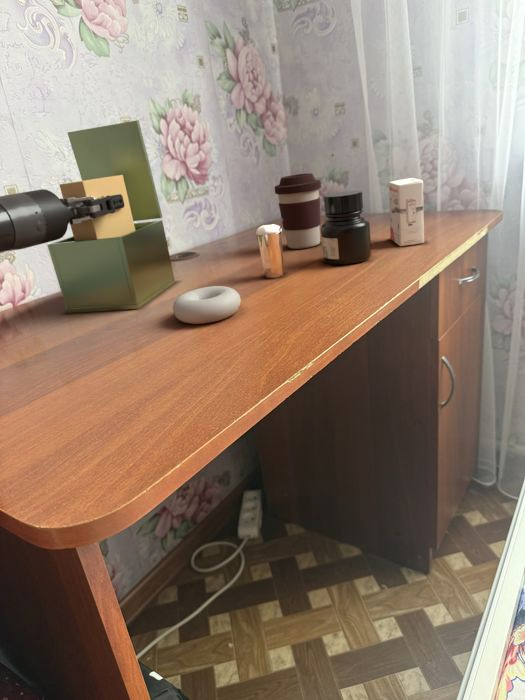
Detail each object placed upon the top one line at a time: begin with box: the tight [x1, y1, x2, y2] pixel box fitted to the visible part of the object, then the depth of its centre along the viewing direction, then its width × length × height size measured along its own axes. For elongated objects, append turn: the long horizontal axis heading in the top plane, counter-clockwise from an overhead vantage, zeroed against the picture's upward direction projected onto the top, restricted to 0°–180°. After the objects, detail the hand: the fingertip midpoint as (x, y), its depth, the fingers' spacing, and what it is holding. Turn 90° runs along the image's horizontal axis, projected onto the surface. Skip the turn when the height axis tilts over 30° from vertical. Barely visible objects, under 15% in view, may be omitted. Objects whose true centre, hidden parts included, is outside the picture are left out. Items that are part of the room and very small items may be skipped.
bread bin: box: [47, 219, 176, 314], centre depth 88 cm, size 16×14×12 cm
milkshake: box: [255, 218, 284, 279], centre depth 88 cm, size 4×5×10 cm
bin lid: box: [67, 119, 163, 222], centre depth 89 cm, size 16×14×1 cm
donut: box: [172, 285, 242, 325], centre depth 73 cm, size 10×4×10 cm
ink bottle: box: [320, 190, 372, 266], centre depth 91 cm, size 10×9×12 cm
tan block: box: [59, 175, 135, 241], centre depth 84 cm, size 9×5×10 cm, turn 151°
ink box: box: [388, 177, 425, 247], centre depth 99 cm, size 9×5×12 cm, turn 0°
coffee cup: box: [274, 172, 322, 250], centre depth 109 cm, size 10×10×15 cm
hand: (108, 202), depth 85 cm, fingers closed on tan block, 5 cm apart
